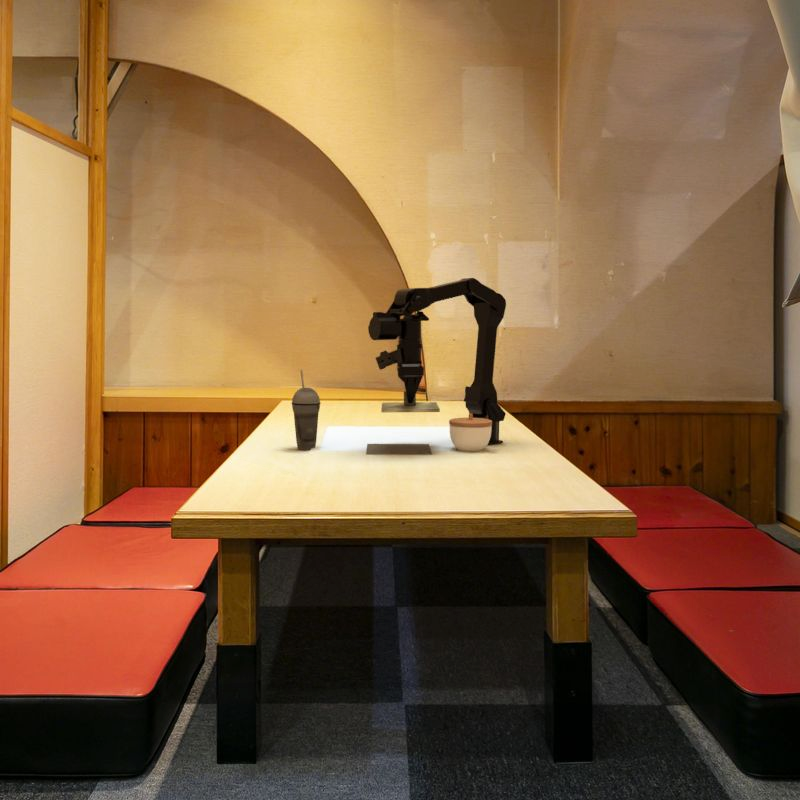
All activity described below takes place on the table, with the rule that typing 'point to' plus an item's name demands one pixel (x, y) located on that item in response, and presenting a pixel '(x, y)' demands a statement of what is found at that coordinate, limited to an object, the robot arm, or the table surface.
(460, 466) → the table surface
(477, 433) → the lidded jar
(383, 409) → the lid
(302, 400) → the beverage cup
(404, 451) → the mat
